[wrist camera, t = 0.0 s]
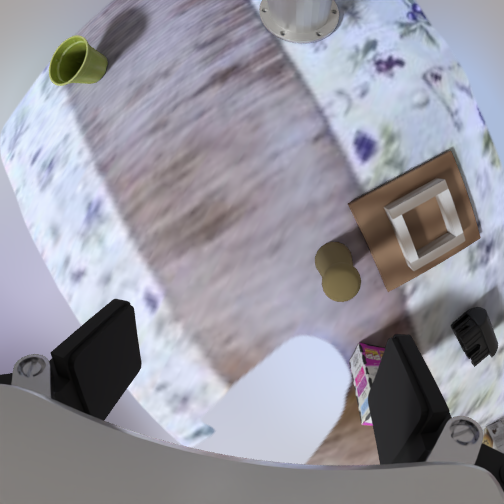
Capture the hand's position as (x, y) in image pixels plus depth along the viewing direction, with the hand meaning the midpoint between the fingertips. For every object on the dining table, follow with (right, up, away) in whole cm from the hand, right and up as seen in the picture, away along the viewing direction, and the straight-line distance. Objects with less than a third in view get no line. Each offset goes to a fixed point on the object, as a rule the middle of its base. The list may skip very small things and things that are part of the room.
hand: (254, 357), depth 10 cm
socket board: (+27, +9, +33) cm, 43 cm away
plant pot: (-29, +38, +33) cm, 58 cm away
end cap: (+43, -11, +37) cm, 58 cm away
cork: (+13, +2, +37) cm, 39 cm away
